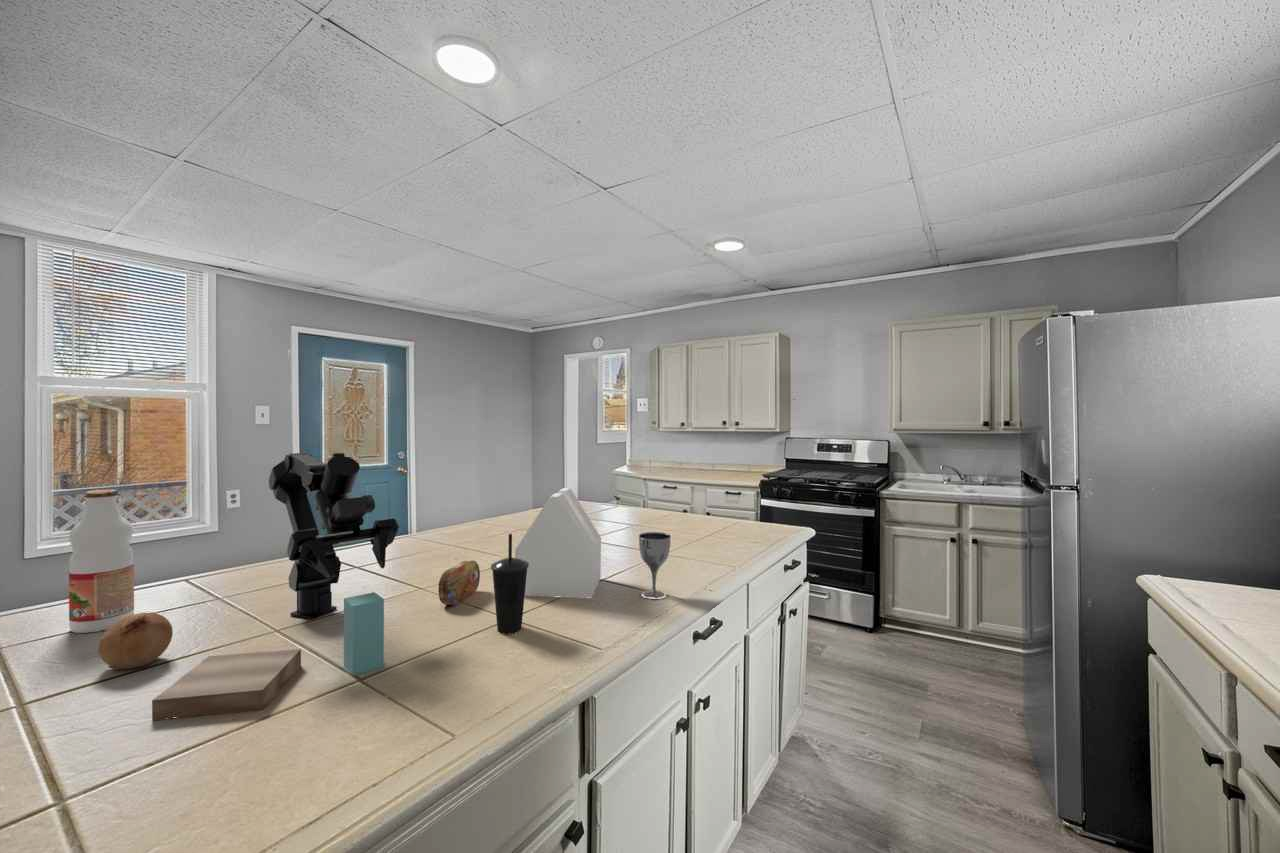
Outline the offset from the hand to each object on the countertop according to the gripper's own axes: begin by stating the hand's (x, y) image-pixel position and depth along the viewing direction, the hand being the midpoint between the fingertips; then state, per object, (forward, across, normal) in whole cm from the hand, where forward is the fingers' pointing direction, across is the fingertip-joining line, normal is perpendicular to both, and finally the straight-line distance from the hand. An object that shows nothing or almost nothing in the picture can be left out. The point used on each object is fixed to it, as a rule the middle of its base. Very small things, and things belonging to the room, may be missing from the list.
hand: (358, 572), depth 98 cm
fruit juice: (-29, -32, +44) cm, 61 cm away
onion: (-7, -29, +25) cm, 39 cm away
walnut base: (+10, -19, +10) cm, 24 cm away
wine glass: (+26, +62, -2) cm, 67 cm away
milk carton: (+9, +50, +12) cm, 52 cm away
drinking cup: (+19, +25, +3) cm, 32 cm away
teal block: (+15, -2, +6) cm, 17 cm away
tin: (+1, +27, +19) cm, 33 cm away
